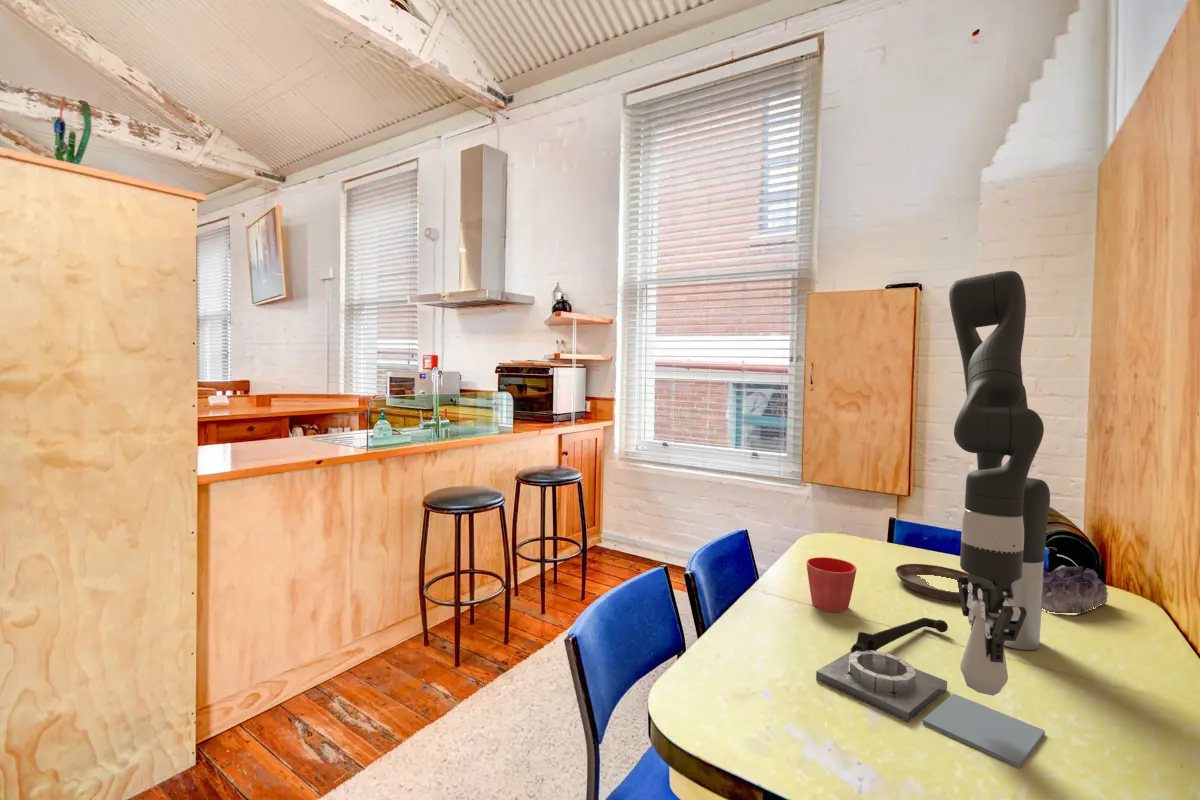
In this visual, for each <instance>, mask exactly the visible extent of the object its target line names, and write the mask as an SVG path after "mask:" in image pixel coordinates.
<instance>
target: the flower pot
mask: <svg viewBox="0 0 1200 800" xmlns="http://www.w3.org/2000/svg"><path fill="white" fill-rule="evenodd" d="M806 571H807V576H808V578H807V580H808V587H809V593H810V598H811V603H812V605H813V606H814V607H816V608H817V609H819V610H822V611H825V612H831V613H843V612H846V611H847V610H849V606H850V602H851V599H852V595H853V589H854V585H855V579H856V574H857V567H856V565H855V564H854V563H852V562H850V561H846V560H843V559H841V558H835V557H834V558H833V557H825V556H821V557H818V556H817V557H811V558H809V559H807V560H806Z"/></svg>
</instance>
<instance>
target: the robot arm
mask: <svg viewBox="0 0 1200 800" xmlns="http://www.w3.org/2000/svg"><path fill="white" fill-rule="evenodd" d="M948 295H949V296H948V300H949V301H948V302H949V307H950V312H951V316H952V321H953V325H954V326H953V327H954V329H955V334H956V339H957V342H958V347H959V351H960V356H961V360H962V361H961V362H962V365H963V366H962V367H963V374H964V375H963V376H964V384H965V390H966V391H965V392H966V398H965V401H964V403H963V405H962V407H961V409H960V411H959V413H958V415H957V418H956V419H955V422H954V423H955V424H954V427H953V437H954V440H955V442H956V443H957V445H958V446H959V448H961V449H962V450H963V451H964V452H968V453H971V454H976V458H977V459H976V462H977V470H972V471H970V472H969V473H967V475H966V476H967V477H966V479H965V495H964V500H965V501H964V512H963V517H962V521H961V522H962V523H961V535H960V536H961V538H960V556H959V557H960V559H959V560H960V562H959V567H960V568H961V571H962V570H963V572H966V573H968V576H958V577H957V582H958V588H959V595H960V601H959V602H960V607H961V612H962V615H963V616H964V617H967V618H968V619H967V622H968V624H969V625H970V627H971V628H970V631H971V630H972V627H973V624H974V620H975V617H976V616H974V615H973V614H972V612H971V604H972V601H974V600H975V599H978V600H980V609H981V619H982V620H983V621H984V622H985V635H986V637H985V641H986V656H987V657H988V655H989V654H990V661H991V662H1001V663H1003V651H1005V647H1007V648H1011V649H1015V650H1017V649H1018V650H1023V651H1024V650H1025V651H1033V650H1037V649H1039V648H1040V644H1041V643H1040V639H1041V626H1042V624H1041V623H1042V610H1041V609H1042V589H1043V571H1044V569H1045V568H1044V567H1045V566H1044V565H1045V564H1044V563H1045V550H1046V543H1047V542H1046V541H1047V531H1048V530H1047V529H1048V521H1049V513H1050V507H1051V492H1050V488H1049V485H1048V484H1047V482H1045V480H1043V479H1038V478H1033V477H1028V474H1029V472H1030V469H1031V466H1032V464H1033V461H1034V459H1035V456H1036V455H1037V452H1038V450H1039V447H1040V446H1041V443H1042V440H1043V438H1044V437H1043V436H1044V432H1045V426H1044V423H1043V420H1042V417H1040V414H1038V413H1037V412H1036V411H1035V410H1033V409H1031V408H1029V407H1028V398H1027V390H1026V387H1025V385H1024V381H1023V380H1024V379H1023V374H1022V373H1023V372H1022V371H1023V370H1022V349H1023V348H1022V347H1023V342H1024V335H1025V327H1026V326H1025V325H1026V315H1027V297H1026V289H1025V284H1024V281H1023V279H1022V276H1021V275H1020V274H1019V273H1018V272H1016V271H1014V270H1003V271H997V272H994V273H992V272H991V273H986V274H981V275H980V274H979V275H976V276H975V275H974V276H973V277H967V278H960V279H958V280H955V281H954V282H952V284H951V285H950V288H949V293H948ZM990 326H996V327H995V329H994V330H993V331H992V332H991V333H989V335H988V336H987V337H986V338H985V339H984V341H983V340H982V339H981V337H980V334H979V332H978V330H977V328H983V327H990ZM1005 456H1008V457H1009V459H1008V461H1007V462H1006V463H1005V464H1003V460H1004V458H1005ZM1002 464H1003V465H1002ZM968 591H969V592H968ZM989 612H990V613H996V614H1000V615H999V617H991V616H990V615H989ZM993 623H996V625H995V628H994V630H993ZM996 655H997V656H996Z"/></svg>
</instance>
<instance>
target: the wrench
mask: <svg viewBox="0 0 1200 800" xmlns="http://www.w3.org/2000/svg"><path fill="white" fill-rule="evenodd" d="M922 628H929V629H934V630H936V631H938V632H939V633H945V632H947V631H948V630H949V626H948V623H947V622H946V621H945V620H942V619H937V620H936V619H933V618H928V617H921V618H918V619H916V620H913V621H910V622H907V623H904V624H900V625H897V626H894V627H891V628H887V629H884V630H881V631H878V632H875V633H874V634H872V633H867V632H863V631H859V632H858V634H857V639H856V643H854V644H853V645H852V646H851V648H850V651H851V652H852V653H854V652H855V651H859V652H864V651H866V650H873V651H878V650H879V649H881V648H882V647H885V646H886V645H888V644H890V643H892V642H894V641H896V640H898V639H901V638H902V637H904V636H906V635H908V634H911V633H912V632H915V631H917V630H919V629H922Z"/></svg>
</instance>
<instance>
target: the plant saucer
mask: <svg viewBox="0 0 1200 800" xmlns="http://www.w3.org/2000/svg"><path fill="white" fill-rule="evenodd" d="M895 573H896V574H897V577H898V578H899V579H900V581H901V582H902V583H903V584H904V585H905V586H906V587H907V588H909V589H911V590H912V589H913V590H912V591H914V590H915V592H916V593H919V594H921V593H922V595H924V594H925V596H927V595H928V597H931V596H932V598H935V597H936V598H935V599H939V598H941V600H944V599H946V600H945V601H950V600H953V602H961V601H960V595H959V592H951V591H945V590H942V589H941V590H940V589H937V588H935V587H933V586H930V585H929V583H928V582H926V580H925V579H923V578H922V579H921V577H920V576H917V575H934V576H941V577H946V578H951V579H955V580H957V577H958V576H968V573H967V572H965V571H962V570H958V569H954V568H951V567H945V566H940V565H939V566H938V565H934V564H925V563H924V564H923V563H905V564H900V565H897V566H896V567H895ZM927 583H928V584H927Z"/></svg>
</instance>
